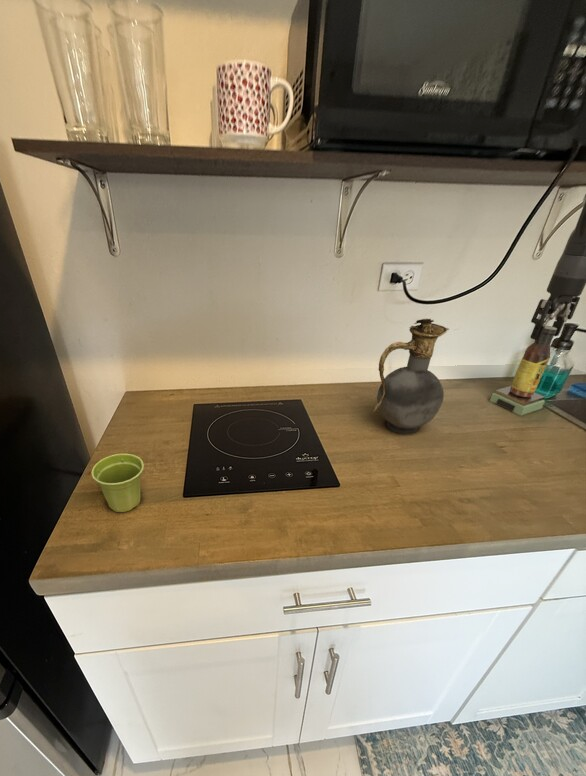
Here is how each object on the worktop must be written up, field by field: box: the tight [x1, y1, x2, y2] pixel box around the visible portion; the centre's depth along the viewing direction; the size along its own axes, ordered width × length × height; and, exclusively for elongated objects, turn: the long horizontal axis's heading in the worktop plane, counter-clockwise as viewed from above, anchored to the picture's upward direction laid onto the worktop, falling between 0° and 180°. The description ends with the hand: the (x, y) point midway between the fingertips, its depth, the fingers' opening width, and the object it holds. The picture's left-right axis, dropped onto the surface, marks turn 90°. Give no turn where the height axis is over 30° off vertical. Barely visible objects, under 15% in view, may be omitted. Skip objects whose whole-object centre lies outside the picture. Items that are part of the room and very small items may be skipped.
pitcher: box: [372, 318, 450, 435], centre depth 96 cm, size 11×19×30 cm, turn 108°
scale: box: [489, 392, 546, 416], centre depth 117 cm, size 10×10×3 cm
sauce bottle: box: [510, 325, 557, 397], centre depth 110 cm, size 6×6×20 cm
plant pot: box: [91, 453, 145, 513], centre depth 76 cm, size 9×9×9 cm
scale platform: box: [494, 385, 545, 406], centre depth 116 cm, size 9×9×1 cm
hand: (544, 337), depth 106 cm, fingers open, 8 cm apart
